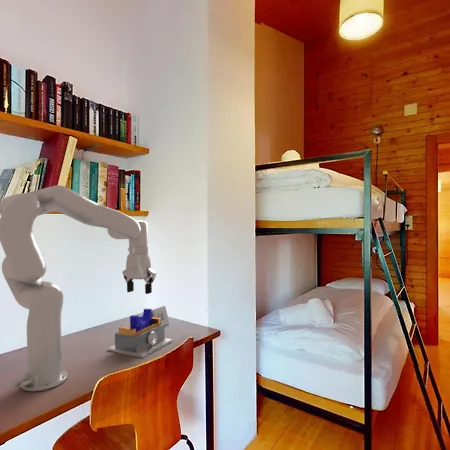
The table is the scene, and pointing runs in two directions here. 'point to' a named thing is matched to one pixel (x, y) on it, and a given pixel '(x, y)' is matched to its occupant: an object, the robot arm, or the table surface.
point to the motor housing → (140, 339)
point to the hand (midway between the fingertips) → (139, 292)
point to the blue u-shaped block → (141, 320)
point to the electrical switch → (161, 314)
